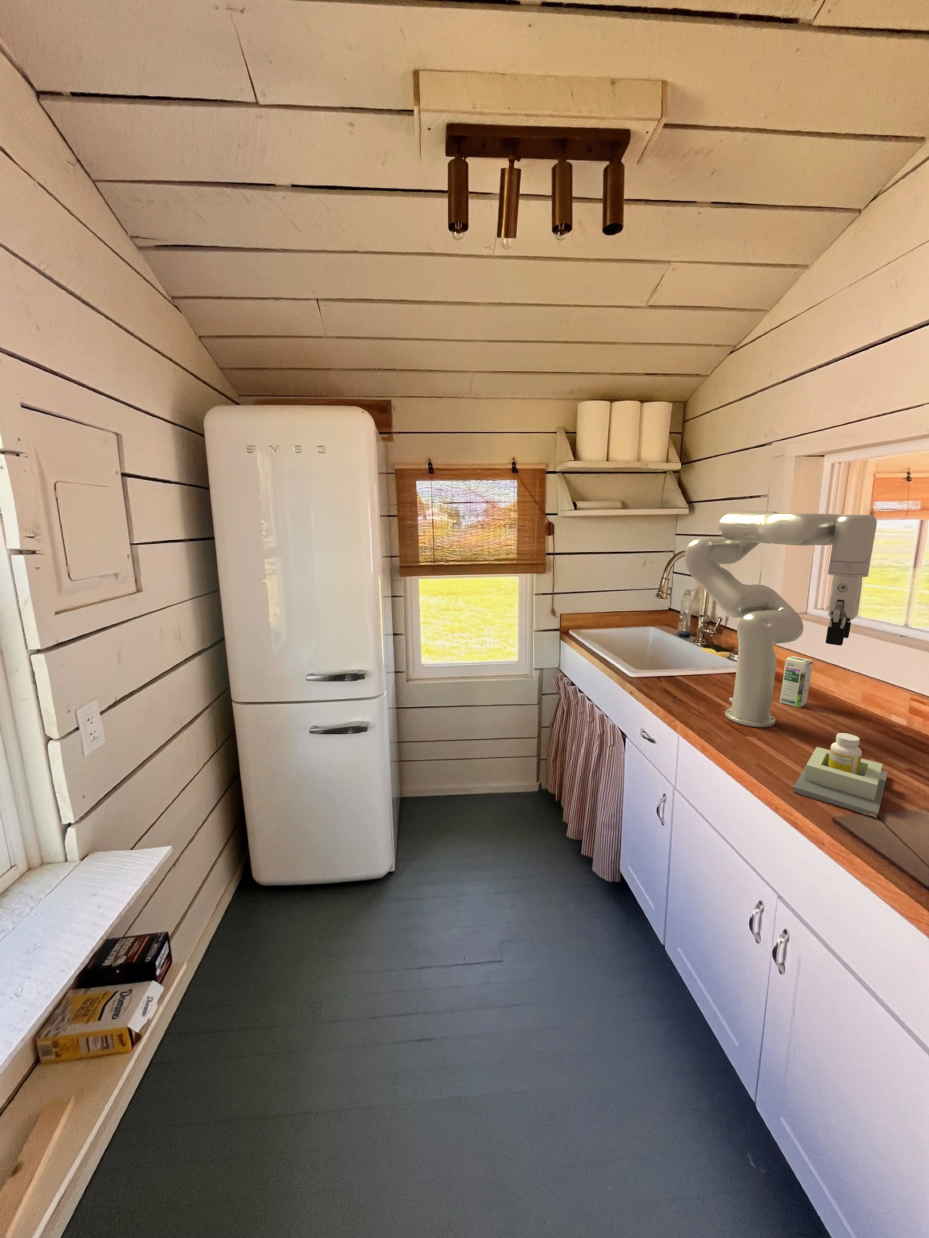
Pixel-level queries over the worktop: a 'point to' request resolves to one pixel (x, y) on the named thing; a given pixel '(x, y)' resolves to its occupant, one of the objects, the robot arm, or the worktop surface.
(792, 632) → the robot arm
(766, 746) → the worktop surface
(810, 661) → the syrup box
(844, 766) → the supplement bottle
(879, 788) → the socket board
